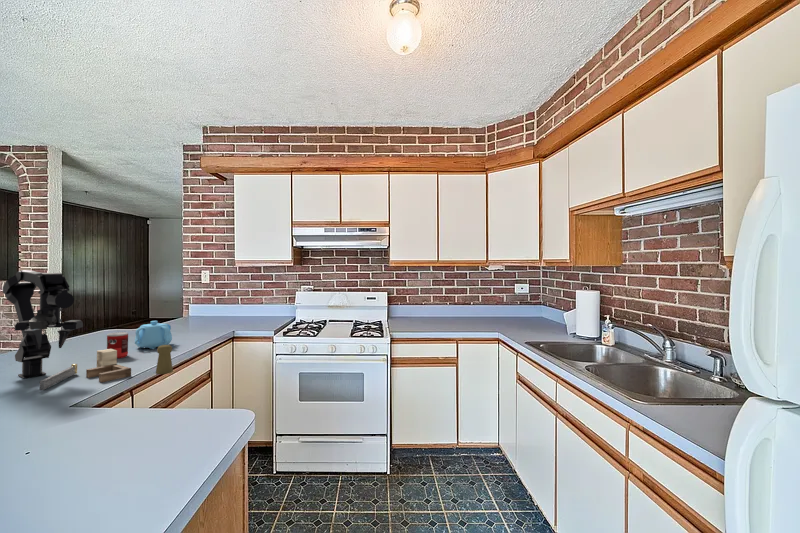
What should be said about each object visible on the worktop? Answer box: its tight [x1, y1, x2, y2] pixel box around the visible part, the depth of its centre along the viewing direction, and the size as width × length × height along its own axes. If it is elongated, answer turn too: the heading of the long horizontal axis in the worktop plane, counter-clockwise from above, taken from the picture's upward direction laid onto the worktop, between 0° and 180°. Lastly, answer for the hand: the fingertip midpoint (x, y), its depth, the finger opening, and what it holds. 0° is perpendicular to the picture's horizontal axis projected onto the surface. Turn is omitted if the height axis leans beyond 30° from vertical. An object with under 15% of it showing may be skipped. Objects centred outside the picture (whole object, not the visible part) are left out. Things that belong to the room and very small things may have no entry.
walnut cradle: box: [85, 363, 132, 383], centre depth 151 cm, size 12×10×3 cm
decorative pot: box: [134, 320, 173, 350], centre depth 204 cm, size 16×16×14 cm
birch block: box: [96, 348, 118, 367], centre depth 160 cm, size 5×5×8 cm
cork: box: [155, 344, 174, 375], centre depth 159 cm, size 6×6×11 cm
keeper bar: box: [39, 363, 78, 391], centre depth 143 cm, size 21×2×4 cm, turn 15°
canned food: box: [106, 331, 129, 359], centre depth 181 cm, size 8×8×11 cm
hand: (49, 348), depth 145 cm, fingers open, 6 cm apart
